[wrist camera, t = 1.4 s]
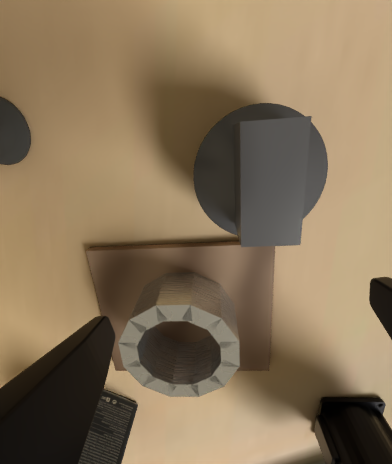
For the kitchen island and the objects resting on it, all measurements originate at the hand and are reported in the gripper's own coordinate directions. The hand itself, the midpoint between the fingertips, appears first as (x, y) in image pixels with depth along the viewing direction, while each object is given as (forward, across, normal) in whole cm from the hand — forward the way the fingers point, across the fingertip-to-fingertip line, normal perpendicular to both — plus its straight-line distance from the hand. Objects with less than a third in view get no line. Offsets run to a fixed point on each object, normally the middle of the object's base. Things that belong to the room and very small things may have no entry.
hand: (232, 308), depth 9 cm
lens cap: (+13, -3, -3) cm, 13 cm away
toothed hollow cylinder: (+12, +5, +10) cm, 16 cm away
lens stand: (+12, +5, +10) cm, 16 cm away
